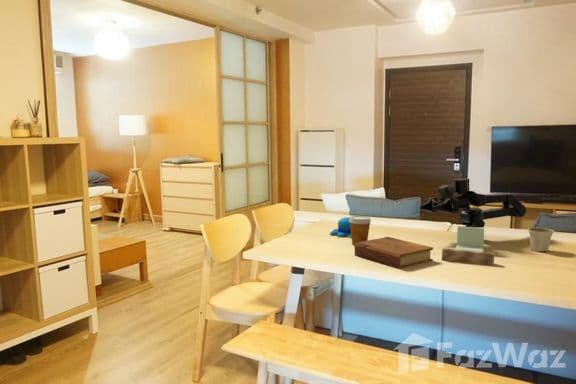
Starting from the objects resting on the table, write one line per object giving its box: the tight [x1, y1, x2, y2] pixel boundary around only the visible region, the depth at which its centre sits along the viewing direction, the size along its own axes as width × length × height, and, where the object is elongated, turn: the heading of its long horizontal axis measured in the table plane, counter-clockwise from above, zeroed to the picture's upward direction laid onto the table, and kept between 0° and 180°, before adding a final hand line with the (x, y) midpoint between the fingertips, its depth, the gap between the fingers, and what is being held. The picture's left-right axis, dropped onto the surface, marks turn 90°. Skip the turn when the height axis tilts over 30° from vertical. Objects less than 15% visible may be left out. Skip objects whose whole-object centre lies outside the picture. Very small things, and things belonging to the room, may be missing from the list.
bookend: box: [455, 225, 485, 252], centre depth 184 cm, size 12×10×10 cm
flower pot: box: [527, 227, 555, 252], centre depth 188 cm, size 9×9×9 cm
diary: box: [354, 236, 434, 269], centre depth 178 cm, size 23×19×6 cm
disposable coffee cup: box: [349, 215, 372, 247], centre depth 200 cm, size 10×10×12 cm
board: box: [441, 247, 495, 266], centre depth 172 cm, size 18×2×4 cm, turn 66°
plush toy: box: [329, 216, 352, 239], centre depth 222 cm, size 17×17×8 cm
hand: (426, 207), depth 199 cm, fingers open, 9 cm apart
